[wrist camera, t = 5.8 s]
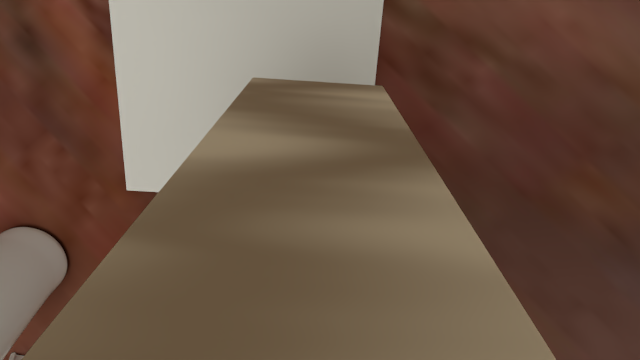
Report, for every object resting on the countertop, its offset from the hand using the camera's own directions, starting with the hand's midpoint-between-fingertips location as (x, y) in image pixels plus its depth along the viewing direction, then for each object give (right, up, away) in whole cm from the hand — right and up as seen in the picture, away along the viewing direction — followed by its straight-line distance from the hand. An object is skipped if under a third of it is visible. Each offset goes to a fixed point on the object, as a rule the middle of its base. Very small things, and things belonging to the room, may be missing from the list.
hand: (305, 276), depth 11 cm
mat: (-4, +8, +19) cm, 21 cm away
